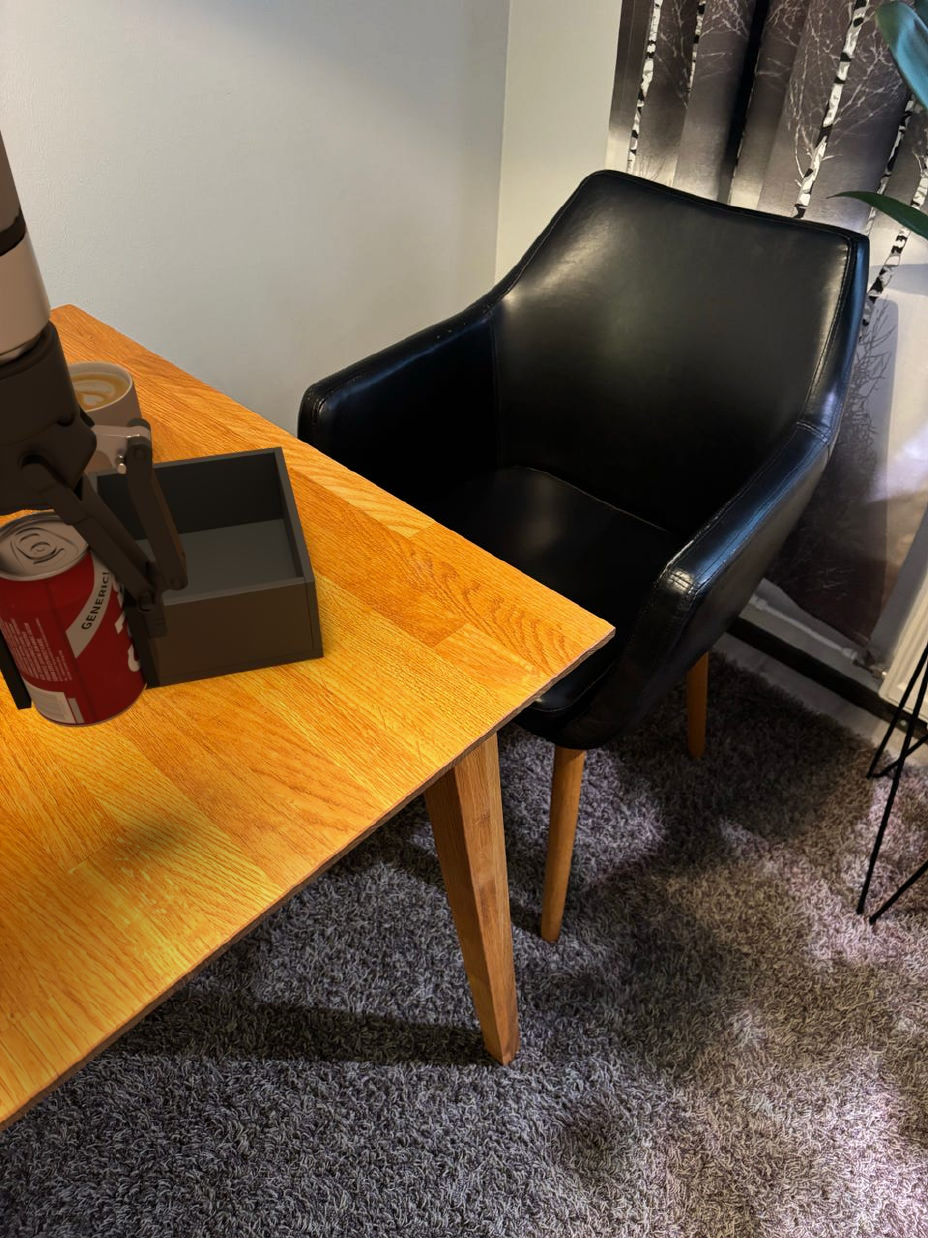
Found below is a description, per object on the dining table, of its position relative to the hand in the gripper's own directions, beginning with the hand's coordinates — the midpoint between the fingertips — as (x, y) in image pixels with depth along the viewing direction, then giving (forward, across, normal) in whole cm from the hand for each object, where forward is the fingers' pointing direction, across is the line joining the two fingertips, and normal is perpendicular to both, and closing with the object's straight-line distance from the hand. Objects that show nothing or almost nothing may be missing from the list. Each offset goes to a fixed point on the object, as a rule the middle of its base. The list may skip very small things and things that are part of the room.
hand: (90, 681), depth 59 cm
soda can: (+1, 0, 0) cm, 1 cm away
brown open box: (+17, -7, -25) cm, 31 cm away
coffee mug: (+18, +3, -50) cm, 53 cm away
